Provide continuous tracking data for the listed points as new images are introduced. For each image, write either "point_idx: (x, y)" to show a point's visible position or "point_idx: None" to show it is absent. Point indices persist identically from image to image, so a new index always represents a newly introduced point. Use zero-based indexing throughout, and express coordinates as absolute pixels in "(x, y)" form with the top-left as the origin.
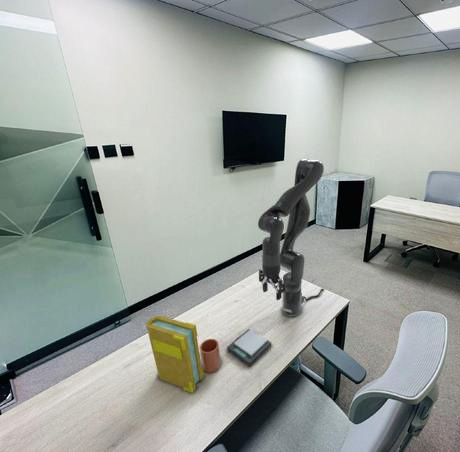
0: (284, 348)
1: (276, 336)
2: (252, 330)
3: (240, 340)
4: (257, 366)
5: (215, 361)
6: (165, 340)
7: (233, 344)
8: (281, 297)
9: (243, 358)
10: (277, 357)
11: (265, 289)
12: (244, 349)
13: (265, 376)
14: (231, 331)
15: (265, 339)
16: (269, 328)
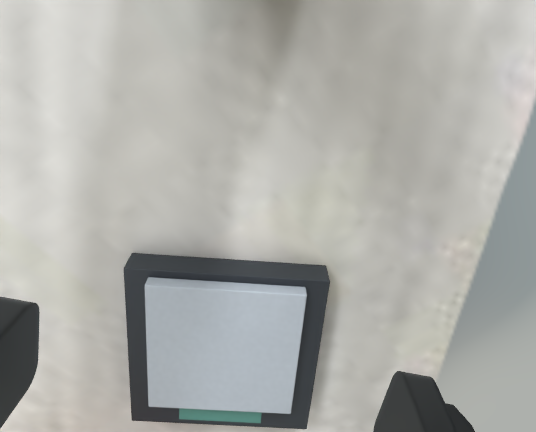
0: (409, 238)
1: (311, 186)
2: (164, 288)
3: (165, 380)
4: (336, 390)
5: None
6: None
7: (147, 396)
8: (469, 425)
9: (261, 426)
10: (401, 306)
11: (7, 380)
12: (233, 408)
13: None
14: None
15: (293, 300)
16: (223, 152)
